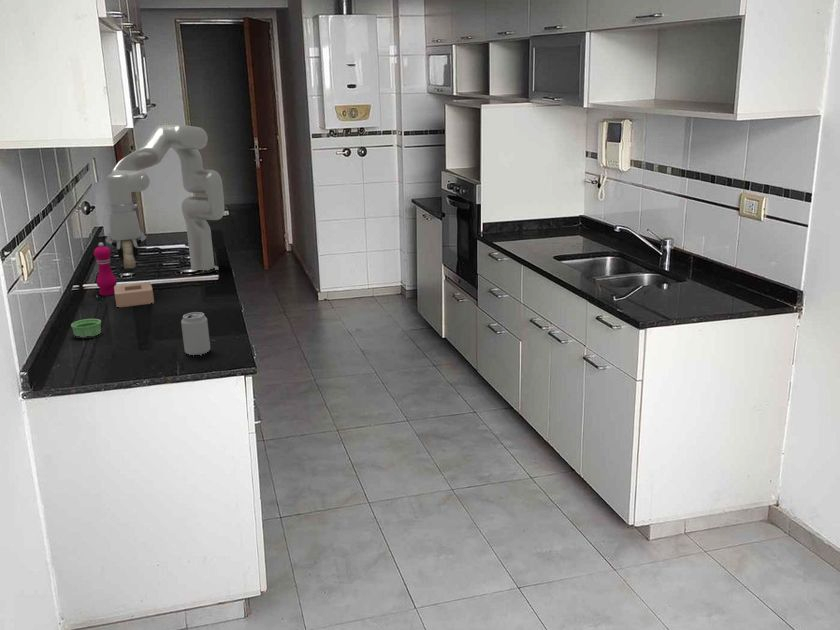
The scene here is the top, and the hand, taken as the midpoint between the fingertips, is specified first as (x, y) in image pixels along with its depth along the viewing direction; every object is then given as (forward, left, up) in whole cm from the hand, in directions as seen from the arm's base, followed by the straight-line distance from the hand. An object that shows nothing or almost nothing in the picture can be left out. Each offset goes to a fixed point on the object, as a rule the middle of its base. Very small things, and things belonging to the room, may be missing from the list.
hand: (128, 258), depth 293 cm
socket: (0, 0, -16) cm, 16 cm away
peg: (0, 0, -3) cm, 3 cm away
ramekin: (+36, -16, -17) cm, 43 cm away
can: (+69, +15, -17) cm, 72 cm away
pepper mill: (-16, -9, -17) cm, 25 cm away
